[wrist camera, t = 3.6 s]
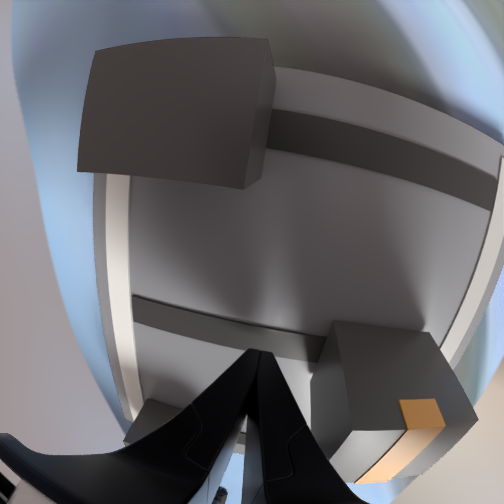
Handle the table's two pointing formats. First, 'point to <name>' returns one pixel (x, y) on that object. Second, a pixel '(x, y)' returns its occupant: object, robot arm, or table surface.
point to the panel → (273, 217)
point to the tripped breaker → (385, 402)
